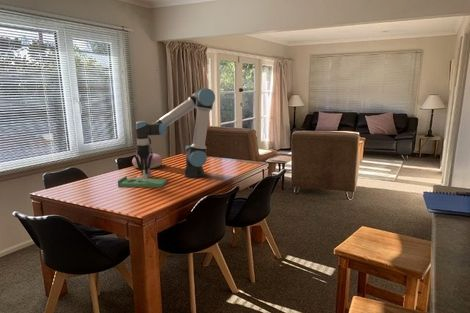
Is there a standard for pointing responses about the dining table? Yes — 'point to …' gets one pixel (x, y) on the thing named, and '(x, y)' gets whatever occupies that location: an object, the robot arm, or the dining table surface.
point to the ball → (139, 178)
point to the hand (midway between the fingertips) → (145, 178)
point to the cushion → (155, 157)
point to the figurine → (148, 159)
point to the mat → (141, 182)
